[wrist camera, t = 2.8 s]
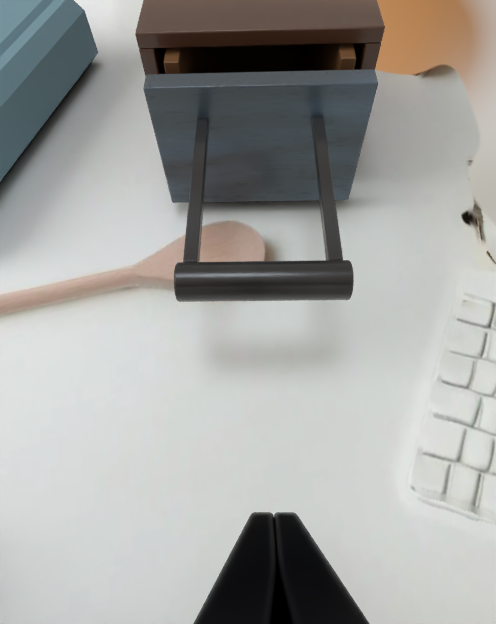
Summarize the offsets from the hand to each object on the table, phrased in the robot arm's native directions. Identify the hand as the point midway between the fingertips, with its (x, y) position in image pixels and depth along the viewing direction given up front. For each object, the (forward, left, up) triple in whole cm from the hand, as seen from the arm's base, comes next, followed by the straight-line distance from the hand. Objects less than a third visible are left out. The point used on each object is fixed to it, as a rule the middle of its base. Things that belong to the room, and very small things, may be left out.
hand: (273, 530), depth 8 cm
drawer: (+20, -9, -11) cm, 25 cm away
